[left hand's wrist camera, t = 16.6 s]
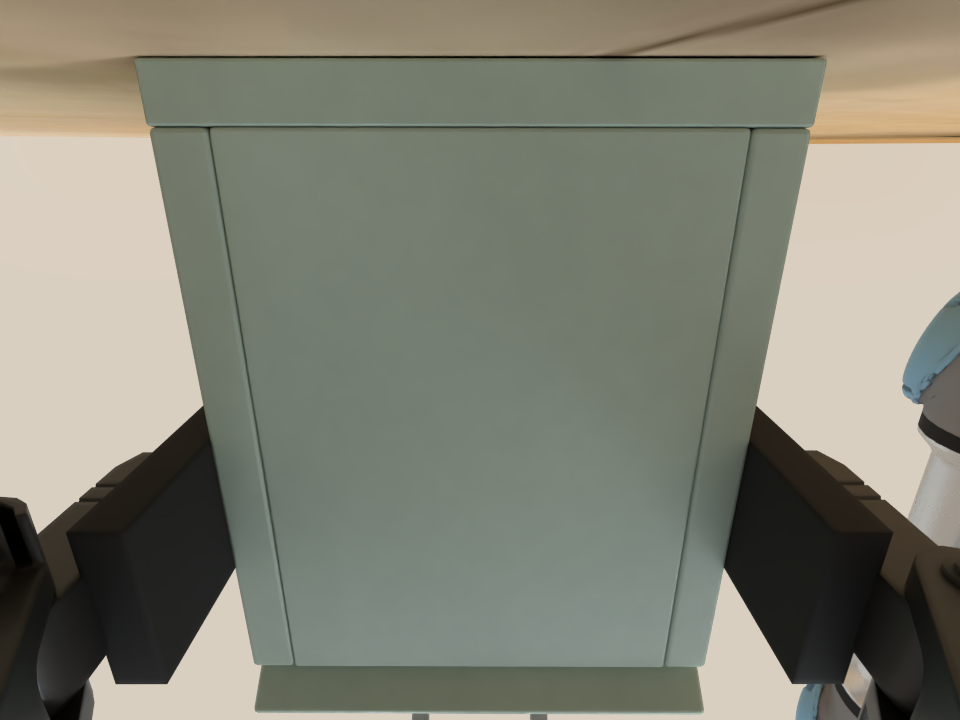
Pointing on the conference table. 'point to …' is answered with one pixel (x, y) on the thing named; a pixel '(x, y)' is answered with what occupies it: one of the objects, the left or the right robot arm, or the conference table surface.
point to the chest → (480, 340)
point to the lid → (479, 690)
